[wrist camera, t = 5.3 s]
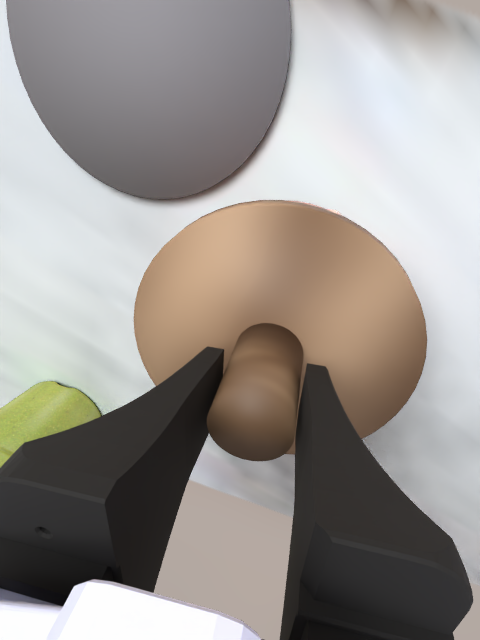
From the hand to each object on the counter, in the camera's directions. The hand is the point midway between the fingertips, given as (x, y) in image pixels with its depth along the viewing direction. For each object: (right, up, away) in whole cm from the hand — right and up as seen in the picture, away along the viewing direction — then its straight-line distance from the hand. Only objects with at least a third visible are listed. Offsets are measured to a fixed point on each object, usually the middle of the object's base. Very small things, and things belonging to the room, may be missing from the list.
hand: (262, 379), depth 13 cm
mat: (-5, +13, +3) cm, 14 cm away
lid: (0, +1, +2) cm, 2 cm away
